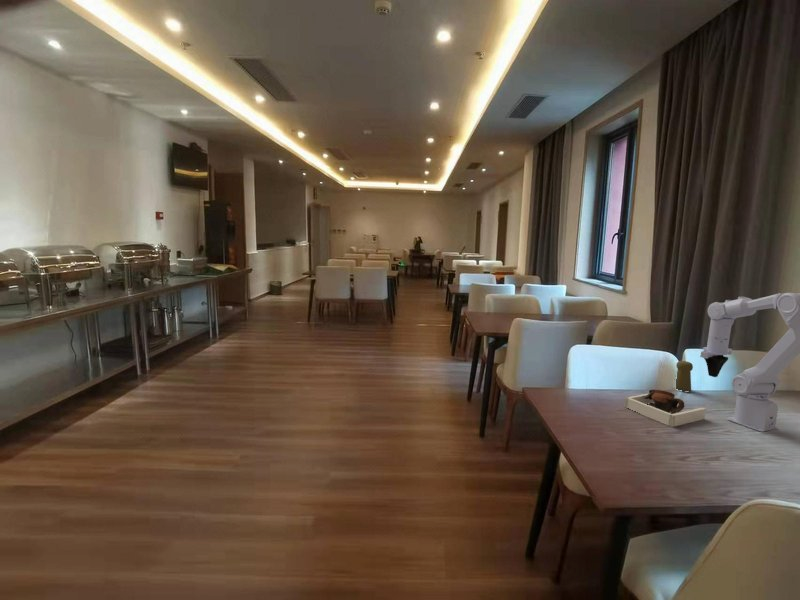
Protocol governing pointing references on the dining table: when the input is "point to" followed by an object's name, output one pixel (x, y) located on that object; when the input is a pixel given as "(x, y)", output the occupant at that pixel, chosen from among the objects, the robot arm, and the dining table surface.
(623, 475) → the dining table surface
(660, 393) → the pottery mug
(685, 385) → the cork
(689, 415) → the box
